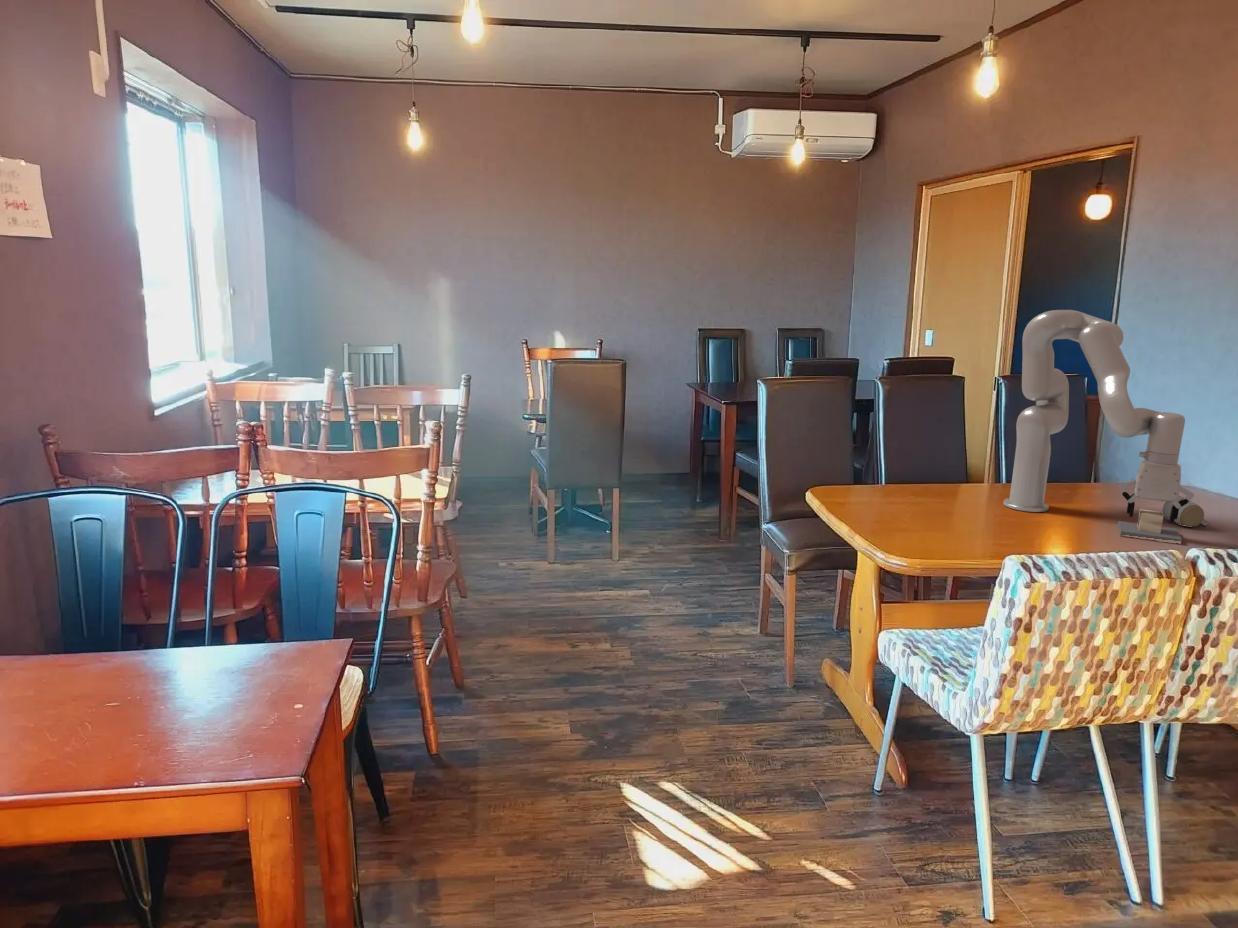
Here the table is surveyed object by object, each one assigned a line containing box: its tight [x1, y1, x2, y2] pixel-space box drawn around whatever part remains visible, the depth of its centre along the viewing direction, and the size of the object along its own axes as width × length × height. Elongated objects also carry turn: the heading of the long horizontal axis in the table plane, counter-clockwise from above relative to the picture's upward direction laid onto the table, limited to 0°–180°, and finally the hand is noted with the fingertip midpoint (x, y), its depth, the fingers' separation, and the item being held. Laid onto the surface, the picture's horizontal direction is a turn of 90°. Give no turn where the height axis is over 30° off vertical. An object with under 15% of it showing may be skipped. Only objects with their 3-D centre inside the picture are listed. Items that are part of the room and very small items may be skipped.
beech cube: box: [1137, 508, 1164, 534], centre depth 224 cm, size 5×5×5 cm
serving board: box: [1117, 520, 1183, 541], centre depth 225 cm, size 11×14×2 cm
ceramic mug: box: [1161, 495, 1209, 527], centre depth 235 cm, size 11×8×8 cm
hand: (1150, 518), depth 224 cm, fingers open, 9 cm apart
